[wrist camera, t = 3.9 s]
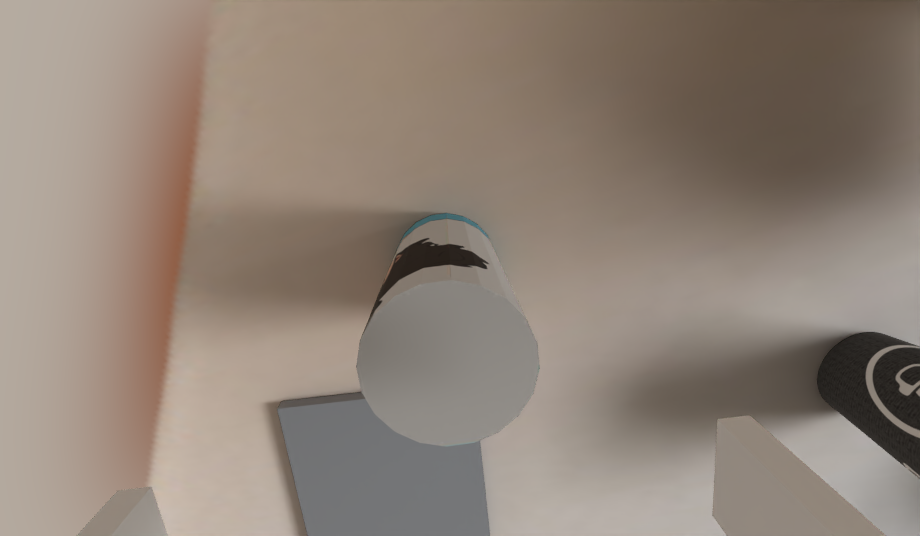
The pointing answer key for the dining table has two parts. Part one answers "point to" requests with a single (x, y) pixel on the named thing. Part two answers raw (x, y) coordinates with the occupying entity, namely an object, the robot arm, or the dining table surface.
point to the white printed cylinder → (447, 338)
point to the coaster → (378, 474)
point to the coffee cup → (877, 391)
